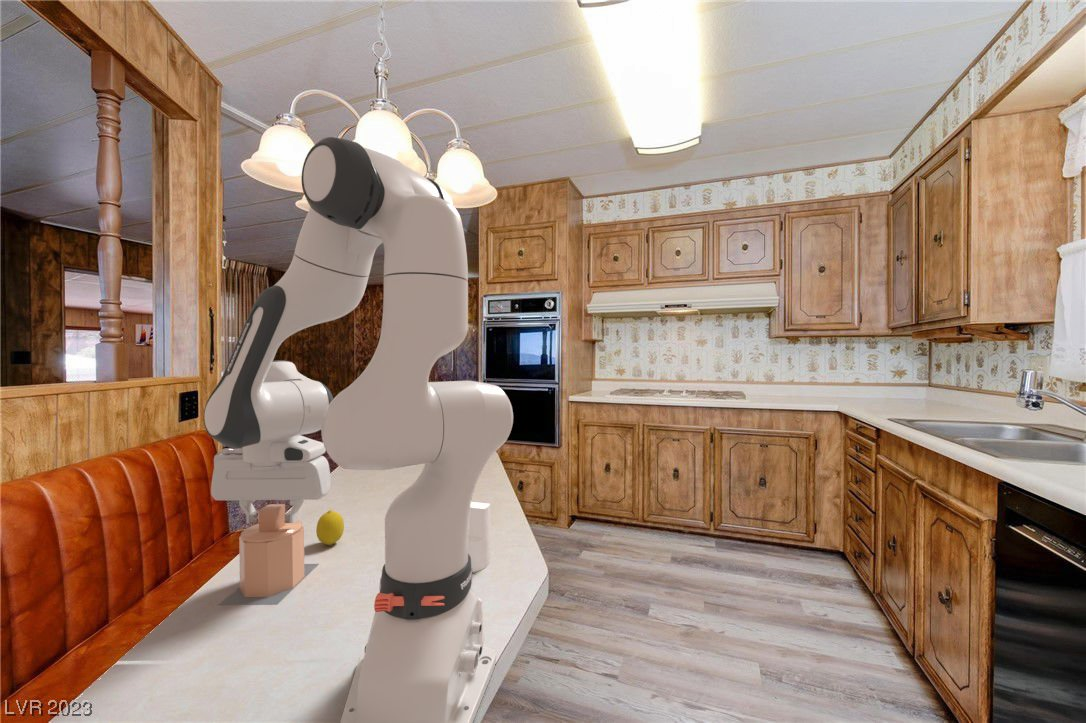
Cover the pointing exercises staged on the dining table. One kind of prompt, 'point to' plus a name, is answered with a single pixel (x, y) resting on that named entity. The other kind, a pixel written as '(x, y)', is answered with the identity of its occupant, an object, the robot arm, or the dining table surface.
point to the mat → (240, 599)
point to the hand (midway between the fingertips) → (272, 522)
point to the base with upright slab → (479, 535)
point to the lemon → (330, 527)
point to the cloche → (271, 554)
